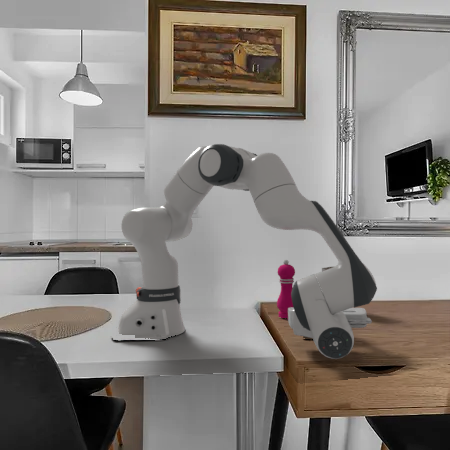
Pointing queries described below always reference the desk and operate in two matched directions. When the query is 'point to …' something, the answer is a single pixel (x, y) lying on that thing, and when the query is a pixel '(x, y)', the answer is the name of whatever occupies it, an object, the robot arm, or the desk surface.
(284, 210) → the robot arm
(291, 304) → the pepper mill
